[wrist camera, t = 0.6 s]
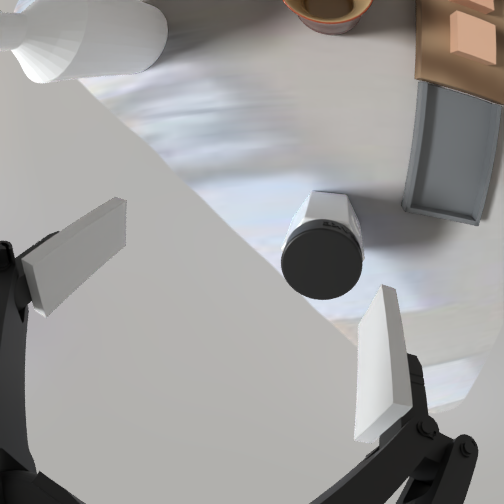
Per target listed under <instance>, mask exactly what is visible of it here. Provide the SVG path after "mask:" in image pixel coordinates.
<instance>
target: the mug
mask: <svg viewBox="0 0 504 504" xmlns="http://www.w3.org/2000/svg"><path fill="white" fill-rule="evenodd" d="M283 2H284V3H285V4H286V5H287V7H288V8H290V9H291V10H292V11H293V12H294V13H296V14H297V15H298V17H299V18H300V20H301V21H302V22H303V23H304V24H305V25H306V26H308V27H309V28H310V29H312V30H314V31H316V32H318V33H322V34H326V35H338V34H342V33H345V32H347V31H349V30H351V29H352V28H353V27H354V26H355V25H356V24H357V23H358V22H359V20H360V18H361V15H362V14H364V13H365V12H366V11H367V10H368V9H369V7H370V6H371V4H372V2H373V0H283Z"/></svg>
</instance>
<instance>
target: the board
mask: <svg viewBox="0 0 504 504" xmlns="http://www.w3.org/2000/svg"><path fill="white" fill-rule="evenodd" d="M415 2H416V60H415V79H417V80H421V81H425V82H429V83H433V84H437V85H441V86H444V87H448V88H451V89H454V90H458V91H461V92H464V93H467V94H470V95H473V96H476V97H479V98H482V99H485V100H488V101H491V102H493V103H496V104H501V105H504V0H493V2H494V11H492V12H490V13H488V14H484V13H481V12H479V11H476V10H473V9H471V8H468V7H465V6H463V5H460V4H457V3H454V2H451V1H449V0H415ZM455 11H460V12H463V13H466V14H468V15H471V16H474V17H476V18H479V19H482V20H484V21H486V22H489V23H491V24H494V25H495V28H496V65H484V64H481V63H479V62H476V61H473V60H470V59H467V58H464V57H461V56H458V55H455V54H452V53H450V15H451V14H452V13H454V12H455Z"/></svg>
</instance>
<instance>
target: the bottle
mask: <svg viewBox="0 0 504 504" xmlns="http://www.w3.org/2000/svg"><path fill="white" fill-rule="evenodd" d="M167 36H168V26H167V21H166V19H165V16H164V15H163V13H162V12H161V11H160V10H159V9H158V8H157V7H154V6H152V5H150V4H147V3H144V2H142V1H139V0H35V1H34V2H33V3H32V4H31V5H29V6H28V7H27V8H26V9H25V10H23V11H22V12H21V13H2V11H1V10H0V51H7V50H11V51H12V52H13V53H14V55H15V56H16V58H17V59H18V61H19V62H20V64H21V66H22V69H23V70H24V73H25V74H26V75H27V77H28V78H29V79H31V80H32V81H34V82H36V83H48V82H55V81H62V80H69V79H79V78H88V77H100V76H114V75H132V74H137V73H140V72H142V71H144V70H146V69H147V68H149V67H150V66H151V65H152V64H153V63H154V62H155V61H156V60H157V59H158V58H159V56H160V55H161V53H162V51H163V49H164V47H165V44H166V41H167Z"/></svg>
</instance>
